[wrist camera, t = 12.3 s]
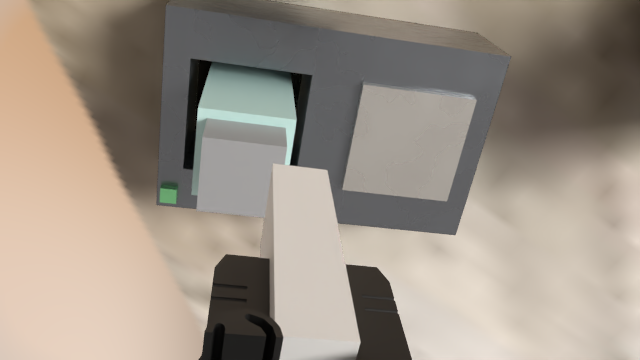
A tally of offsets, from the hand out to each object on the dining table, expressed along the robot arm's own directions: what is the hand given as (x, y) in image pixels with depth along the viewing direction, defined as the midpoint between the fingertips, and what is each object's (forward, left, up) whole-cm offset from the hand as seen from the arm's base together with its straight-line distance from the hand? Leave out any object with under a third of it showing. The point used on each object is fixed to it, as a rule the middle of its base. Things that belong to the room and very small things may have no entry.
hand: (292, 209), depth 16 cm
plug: (+2, -1, -17) cm, 18 cm away
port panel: (+2, +3, -17) cm, 18 cm away
